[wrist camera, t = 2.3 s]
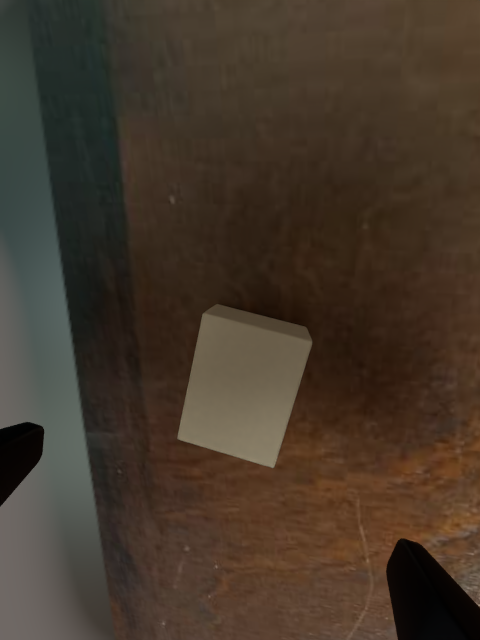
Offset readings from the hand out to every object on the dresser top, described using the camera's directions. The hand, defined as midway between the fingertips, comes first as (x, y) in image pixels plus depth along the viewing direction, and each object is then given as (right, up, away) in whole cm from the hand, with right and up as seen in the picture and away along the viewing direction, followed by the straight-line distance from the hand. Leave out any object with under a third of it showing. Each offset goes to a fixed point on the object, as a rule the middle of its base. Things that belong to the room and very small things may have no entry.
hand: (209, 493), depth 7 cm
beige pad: (+1, +2, +7) cm, 8 cm away
